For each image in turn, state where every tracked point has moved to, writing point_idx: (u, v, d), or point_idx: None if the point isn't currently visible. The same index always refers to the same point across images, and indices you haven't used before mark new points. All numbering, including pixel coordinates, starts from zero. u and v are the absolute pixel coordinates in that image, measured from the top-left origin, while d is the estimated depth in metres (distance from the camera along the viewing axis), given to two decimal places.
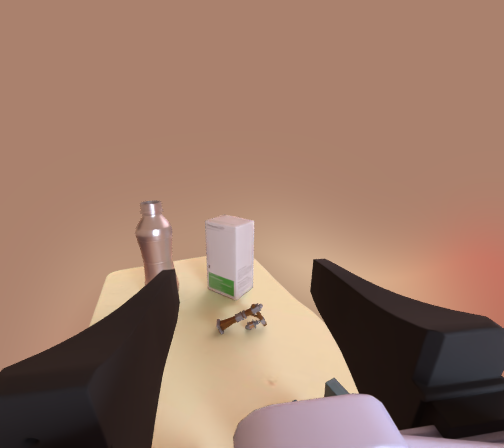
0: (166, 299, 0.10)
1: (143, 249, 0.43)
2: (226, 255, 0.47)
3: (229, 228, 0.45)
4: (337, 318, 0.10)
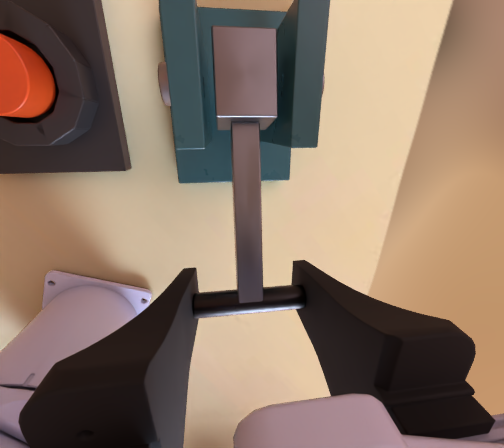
0: (191, 297, 0.10)
1: None
2: None
3: None
4: (313, 320, 0.10)
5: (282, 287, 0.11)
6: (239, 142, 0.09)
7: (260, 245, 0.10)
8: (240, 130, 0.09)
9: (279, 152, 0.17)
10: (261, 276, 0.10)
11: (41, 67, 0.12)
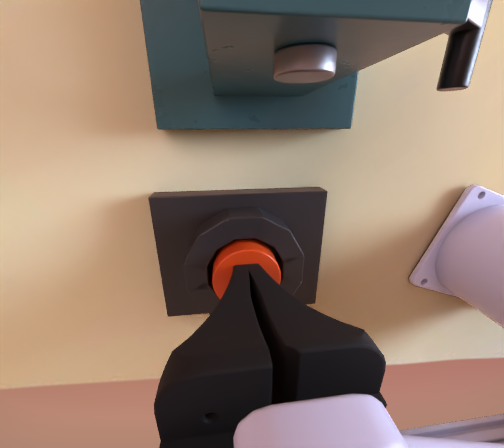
0: None
1: None
2: None
3: None
4: None
5: None
6: None
7: None
8: None
9: None
10: None
11: (235, 240, 0.13)
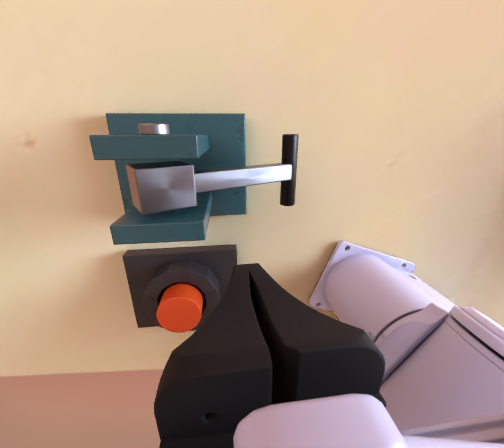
0: None
1: None
2: None
3: None
4: None
5: (284, 149, 0.17)
6: (204, 186, 0.14)
7: (262, 168, 0.15)
8: (196, 186, 0.13)
9: (218, 125, 0.18)
10: (279, 166, 0.16)
11: (173, 288, 0.20)
